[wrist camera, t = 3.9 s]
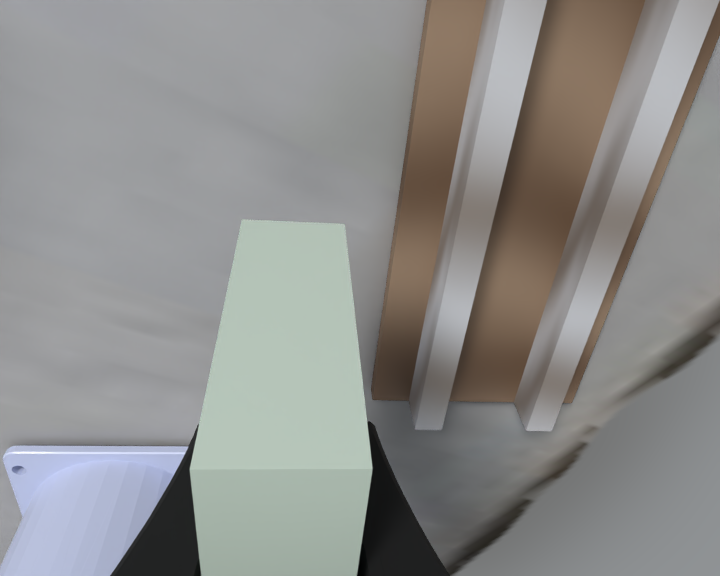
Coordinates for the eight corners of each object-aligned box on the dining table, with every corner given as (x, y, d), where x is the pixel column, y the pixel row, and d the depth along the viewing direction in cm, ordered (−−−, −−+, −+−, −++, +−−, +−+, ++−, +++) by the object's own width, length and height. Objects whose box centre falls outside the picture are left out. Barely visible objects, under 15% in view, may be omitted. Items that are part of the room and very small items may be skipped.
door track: (566, 392, 24) (587, 431, 22) (371, 389, 23) (376, 429, 21) (744, -68, 15) (803, -64, 13) (442, -104, 14) (461, -106, 12)
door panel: (323, 486, 16) (330, 753, 11) (248, 486, 16) (221, 759, 11) (344, 223, 12) (372, 469, 7) (242, 219, 11) (190, 469, 6)
